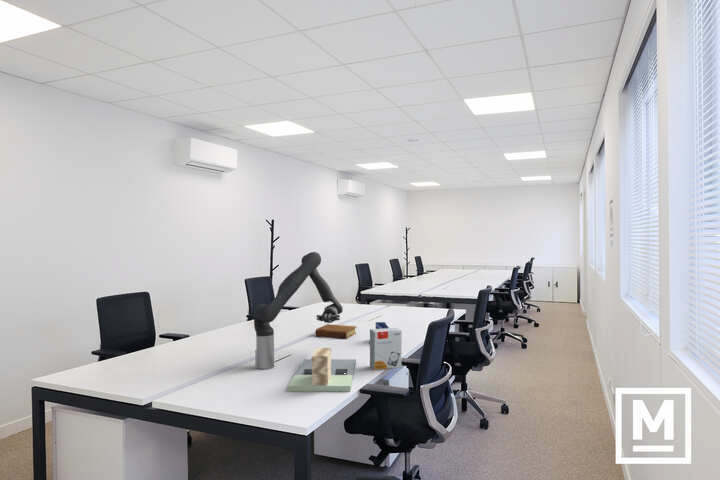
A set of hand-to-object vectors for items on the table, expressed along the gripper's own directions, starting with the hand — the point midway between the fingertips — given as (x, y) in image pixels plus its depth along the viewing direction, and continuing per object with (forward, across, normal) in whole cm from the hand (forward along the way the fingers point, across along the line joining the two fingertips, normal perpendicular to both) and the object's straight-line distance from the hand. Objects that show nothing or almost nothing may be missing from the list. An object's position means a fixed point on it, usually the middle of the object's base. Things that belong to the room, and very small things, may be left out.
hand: (326, 320), depth 234 cm
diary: (-86, -4, +27) cm, 90 cm away
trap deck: (+8, 0, +26) cm, 27 cm away
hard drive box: (-8, +30, +26) cm, 41 cm away
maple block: (+21, +1, +24) cm, 32 cm away
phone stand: (-65, +30, +26) cm, 77 cm away
